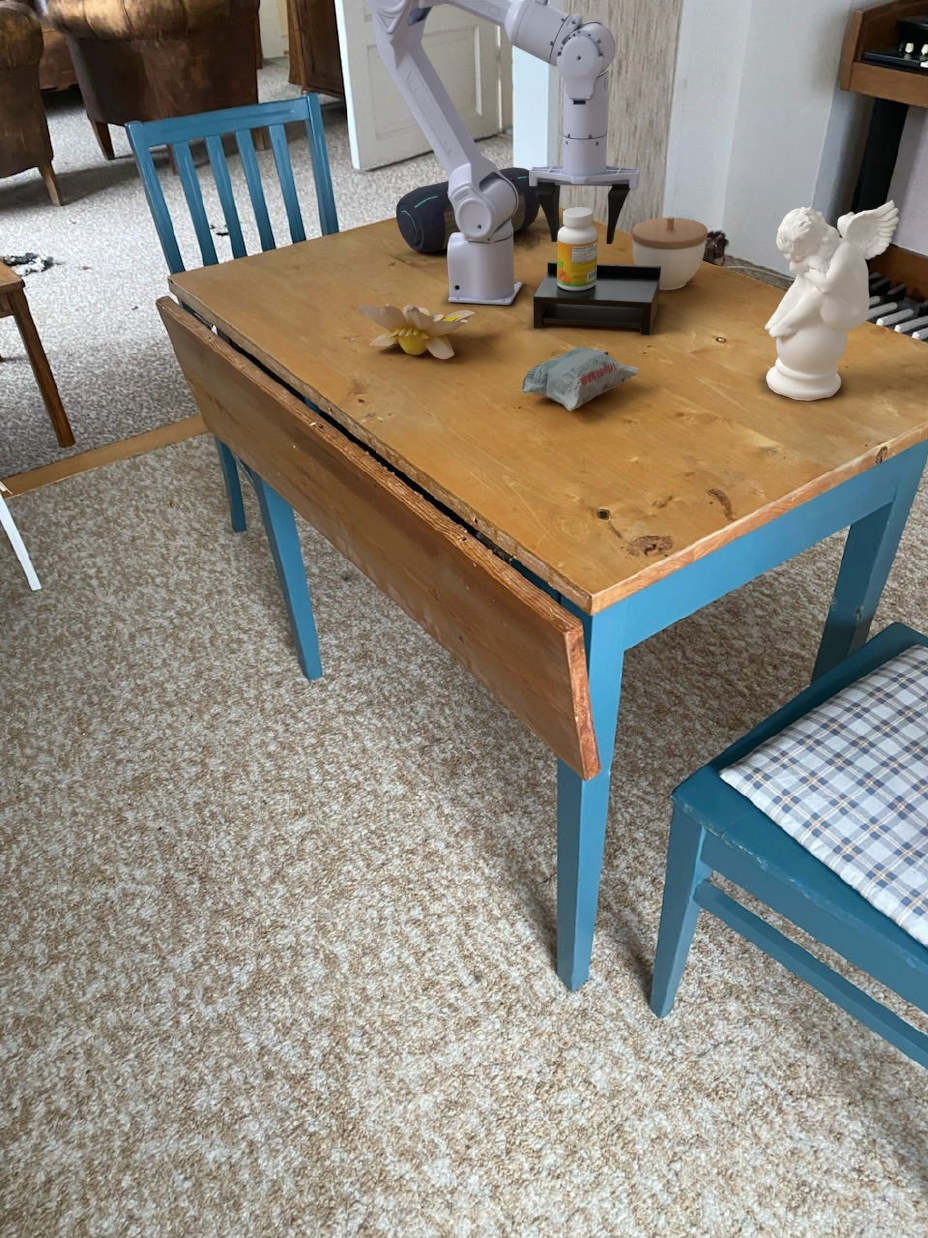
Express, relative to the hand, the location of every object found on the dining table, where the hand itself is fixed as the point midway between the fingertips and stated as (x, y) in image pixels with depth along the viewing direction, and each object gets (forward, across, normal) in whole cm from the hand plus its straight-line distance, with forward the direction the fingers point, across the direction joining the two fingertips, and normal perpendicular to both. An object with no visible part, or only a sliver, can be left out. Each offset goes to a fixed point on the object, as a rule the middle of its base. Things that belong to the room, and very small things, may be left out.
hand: (582, 240), depth 132 cm
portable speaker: (+9, -23, +25) cm, 35 cm away
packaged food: (+9, +5, -28) cm, 30 cm away
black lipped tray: (+9, +3, -4) cm, 10 cm away
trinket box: (+9, +11, +10) cm, 17 cm away
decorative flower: (+9, -18, -18) cm, 27 cm away
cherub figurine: (+9, +32, -19) cm, 39 cm away
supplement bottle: (+5, 0, -4) cm, 6 cm away
